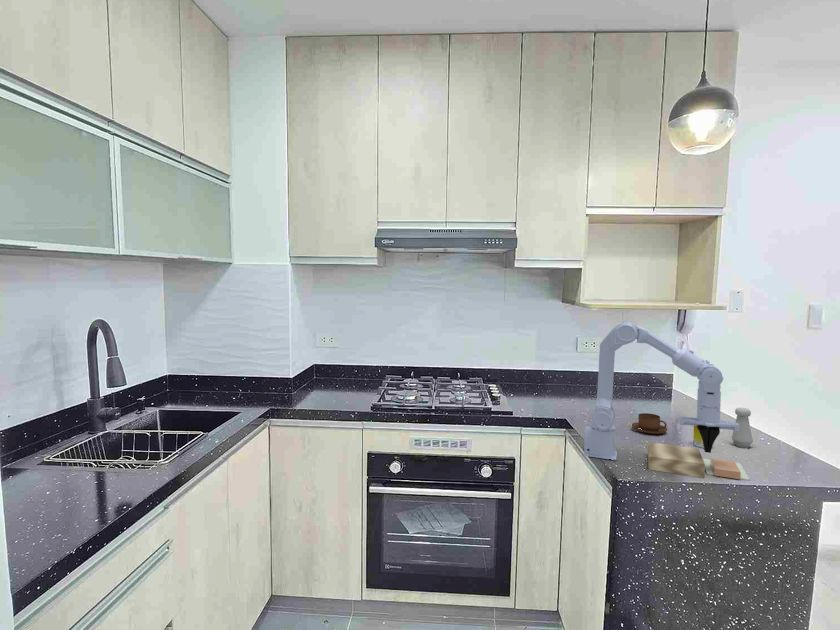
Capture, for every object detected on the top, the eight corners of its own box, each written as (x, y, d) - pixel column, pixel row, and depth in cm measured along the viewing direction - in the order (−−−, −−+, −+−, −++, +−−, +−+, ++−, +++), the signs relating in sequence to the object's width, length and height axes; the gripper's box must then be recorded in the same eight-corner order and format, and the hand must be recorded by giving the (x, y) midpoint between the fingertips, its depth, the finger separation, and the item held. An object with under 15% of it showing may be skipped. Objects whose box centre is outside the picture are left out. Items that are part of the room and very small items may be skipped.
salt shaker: (748, 450, 146) (749, 411, 145) (728, 445, 150) (729, 408, 150) (755, 446, 149) (756, 408, 149) (735, 442, 154) (736, 405, 153)
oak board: (648, 469, 130) (648, 456, 130) (647, 454, 142) (648, 442, 142) (704, 478, 124) (704, 464, 123) (698, 461, 136) (698, 448, 136)
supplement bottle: (705, 449, 146) (706, 419, 146) (689, 444, 151) (690, 415, 151) (716, 447, 148) (717, 417, 148) (700, 442, 154) (700, 413, 153)
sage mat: (706, 474, 126) (706, 473, 126) (701, 459, 138) (701, 458, 138) (749, 480, 122) (749, 479, 122) (740, 464, 133) (740, 463, 133)
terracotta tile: (740, 472, 122) (740, 479, 122) (734, 461, 130) (734, 468, 130) (714, 468, 124) (714, 475, 125) (710, 458, 132) (710, 464, 133)
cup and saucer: (667, 429, 169) (667, 414, 169) (666, 438, 159) (666, 421, 158) (632, 425, 175) (633, 410, 175) (630, 433, 165) (630, 417, 164)
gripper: (681, 406, 128) (680, 451, 129) (741, 411, 122) (740, 460, 122) (679, 401, 134) (678, 444, 135) (736, 406, 128) (735, 452, 128)
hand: (707, 451), depth 129 cm, fingers closed
